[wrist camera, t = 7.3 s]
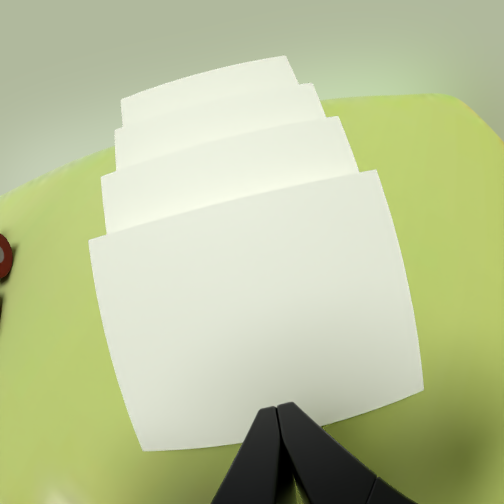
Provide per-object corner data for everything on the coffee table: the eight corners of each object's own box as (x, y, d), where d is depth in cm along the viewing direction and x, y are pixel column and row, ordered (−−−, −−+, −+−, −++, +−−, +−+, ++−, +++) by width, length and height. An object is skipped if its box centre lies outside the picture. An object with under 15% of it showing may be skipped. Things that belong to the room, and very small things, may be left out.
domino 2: (362, 233, 16) (312, 82, 17) (130, 285, 16) (114, 130, 17) (352, 238, 18) (308, 99, 19) (143, 285, 18) (126, 142, 19)
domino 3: (395, 304, 14) (338, 115, 15) (134, 366, 14) (100, 176, 15) (380, 302, 16) (331, 132, 17) (148, 357, 16) (116, 187, 17)
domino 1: (332, 167, 19) (285, 55, 20) (135, 220, 19) (120, 99, 20) (326, 178, 21) (284, 70, 22) (145, 226, 21) (129, 112, 22)
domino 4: (423, 389, 11) (376, 169, 12) (143, 451, 11) (88, 240, 12) (406, 378, 13) (363, 183, 14) (155, 433, 13) (108, 245, 14)
